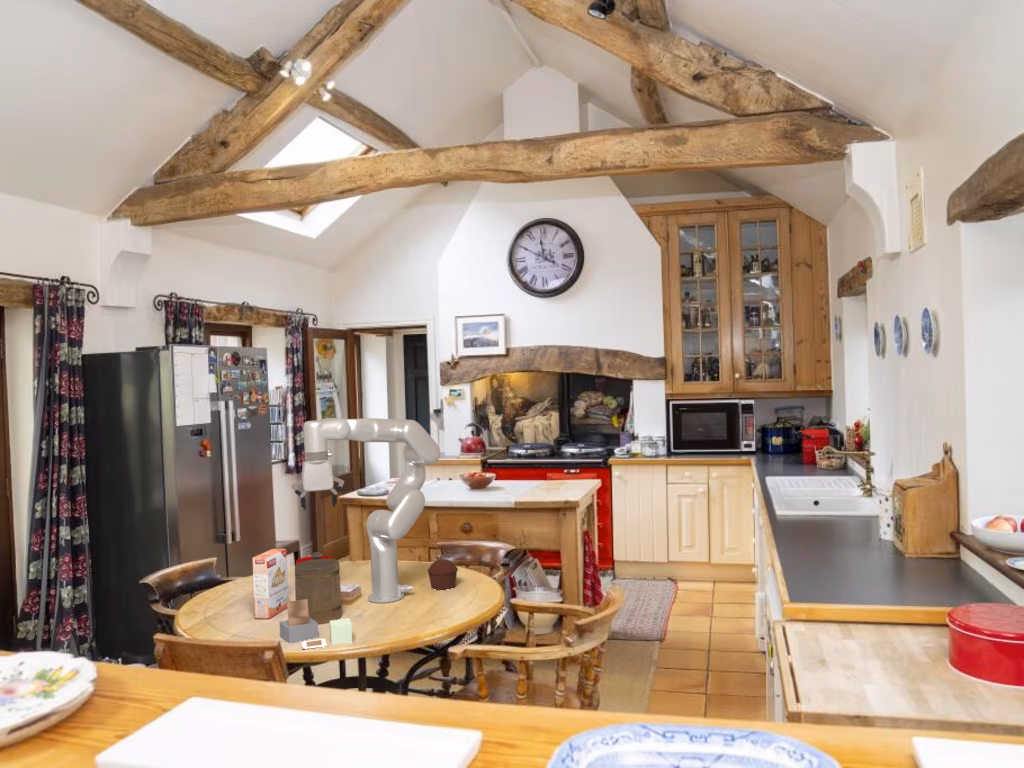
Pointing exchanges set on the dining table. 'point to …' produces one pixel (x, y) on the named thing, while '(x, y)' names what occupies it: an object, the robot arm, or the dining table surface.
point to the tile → (314, 643)
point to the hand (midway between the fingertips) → (319, 507)
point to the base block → (298, 631)
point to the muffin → (442, 574)
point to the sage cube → (341, 631)
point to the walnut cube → (298, 612)
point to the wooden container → (319, 587)
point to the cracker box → (270, 583)
